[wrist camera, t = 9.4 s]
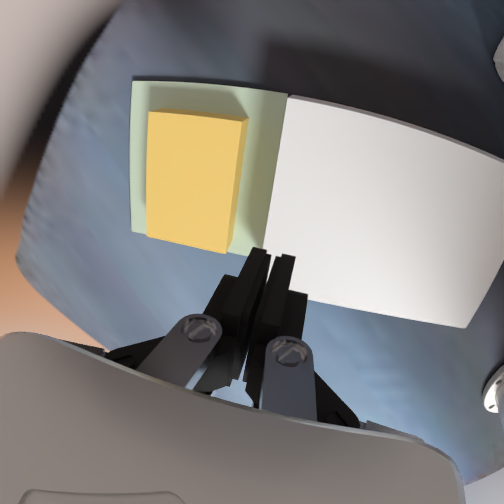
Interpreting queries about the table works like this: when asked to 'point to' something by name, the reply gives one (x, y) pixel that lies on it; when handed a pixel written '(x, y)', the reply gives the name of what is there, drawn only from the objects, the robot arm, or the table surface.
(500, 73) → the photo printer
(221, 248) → the tile
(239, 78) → the table surface
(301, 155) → the plate
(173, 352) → the robot arm
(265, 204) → the mat
